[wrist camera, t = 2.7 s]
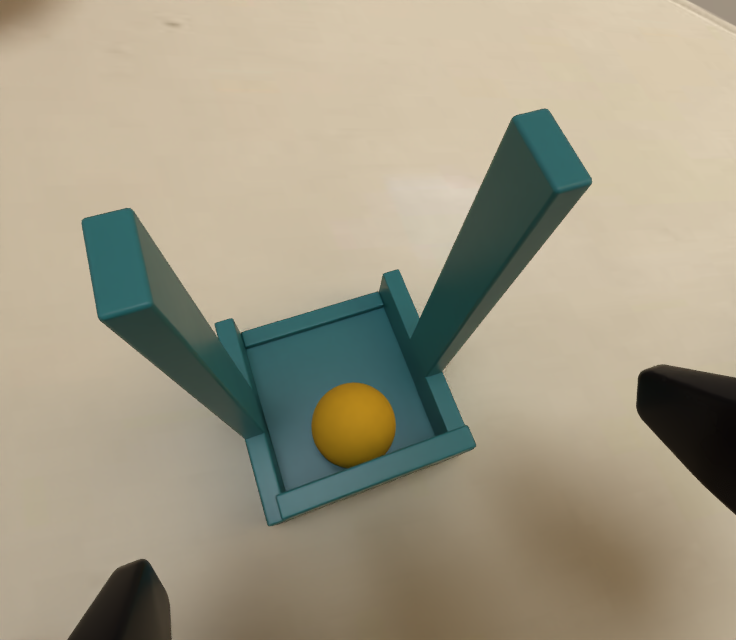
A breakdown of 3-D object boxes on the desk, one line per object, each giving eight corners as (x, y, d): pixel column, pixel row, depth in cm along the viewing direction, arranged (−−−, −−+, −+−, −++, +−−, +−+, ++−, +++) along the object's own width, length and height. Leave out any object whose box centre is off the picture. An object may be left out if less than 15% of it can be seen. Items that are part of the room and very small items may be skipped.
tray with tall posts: (457, 455, 19) (703, 351, 6) (276, 525, 18) (137, 563, 5) (391, 294, 21) (476, -10, 9) (227, 344, 20) (51, 66, 7)
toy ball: (404, 426, 19) (421, 422, 16) (350, 484, 18) (357, 491, 15) (350, 372, 19) (357, 358, 16) (295, 427, 18) (292, 423, 15)
